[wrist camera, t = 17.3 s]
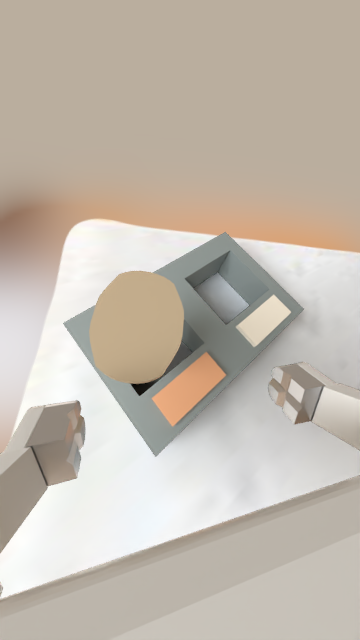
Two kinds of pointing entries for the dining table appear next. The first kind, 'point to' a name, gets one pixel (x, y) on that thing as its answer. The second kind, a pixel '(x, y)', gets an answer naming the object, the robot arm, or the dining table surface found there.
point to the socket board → (201, 339)
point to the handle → (136, 327)
